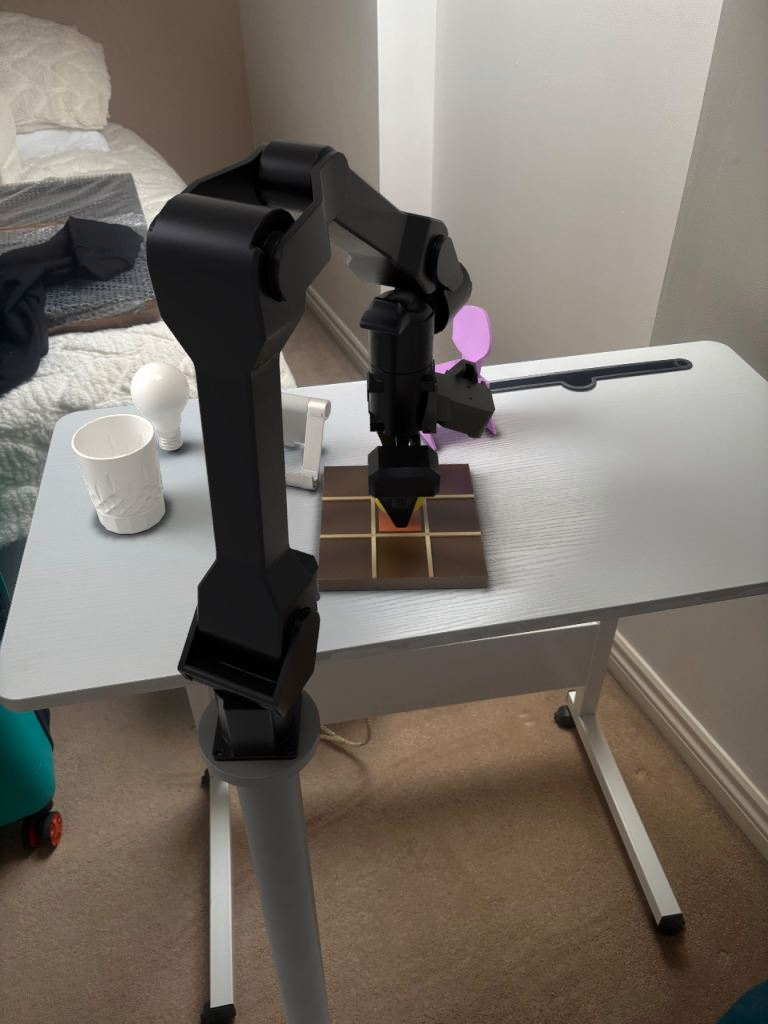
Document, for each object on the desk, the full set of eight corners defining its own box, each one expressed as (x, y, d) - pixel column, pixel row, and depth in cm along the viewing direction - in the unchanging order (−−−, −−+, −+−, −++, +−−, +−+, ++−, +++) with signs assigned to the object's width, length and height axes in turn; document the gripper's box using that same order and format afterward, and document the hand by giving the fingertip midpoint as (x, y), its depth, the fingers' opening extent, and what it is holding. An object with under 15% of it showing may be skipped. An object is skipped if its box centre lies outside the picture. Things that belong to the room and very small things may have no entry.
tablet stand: (240, 480, 92) (231, 416, 87) (268, 441, 98) (261, 379, 92) (313, 494, 90) (308, 429, 85) (337, 453, 96) (334, 391, 90)
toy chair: (404, 419, 101) (406, 305, 92) (468, 404, 104) (476, 291, 94) (434, 456, 95) (439, 338, 86) (501, 438, 98) (513, 322, 88)
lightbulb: (134, 460, 95) (114, 376, 88) (159, 430, 100) (141, 348, 93) (186, 467, 94) (169, 383, 87) (208, 436, 99) (194, 354, 92)
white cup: (128, 549, 83) (106, 469, 77) (79, 519, 87) (54, 440, 81) (186, 509, 88) (171, 431, 82) (138, 482, 92) (119, 405, 85)
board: (486, 587, 79) (488, 574, 78) (318, 591, 79) (317, 578, 77) (467, 474, 93) (468, 461, 92) (324, 476, 92) (323, 464, 91)
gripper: (506, 414, 66) (491, 558, 76) (480, 309, 80) (470, 442, 90) (366, 417, 66) (369, 561, 76) (365, 311, 80) (368, 444, 90)
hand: (399, 496), depth 83 cm, fingers open, 9 cm apart
